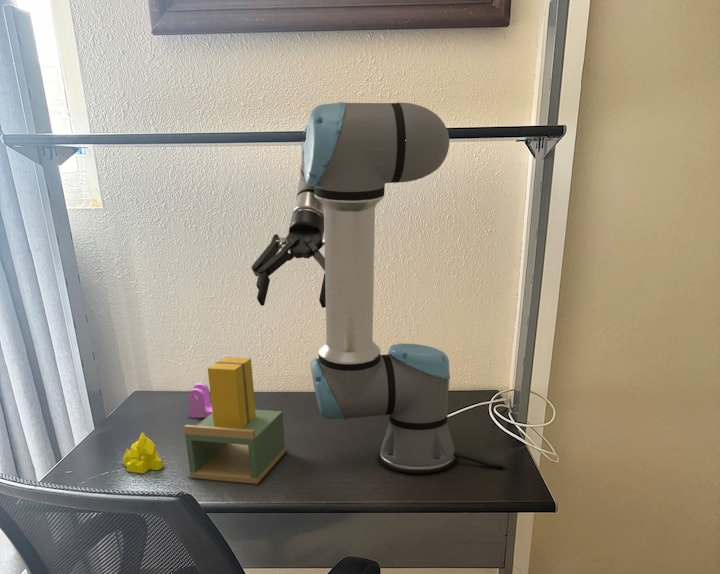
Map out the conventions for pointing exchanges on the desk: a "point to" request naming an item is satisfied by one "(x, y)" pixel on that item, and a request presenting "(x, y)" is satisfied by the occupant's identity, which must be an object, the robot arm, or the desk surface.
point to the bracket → (199, 401)
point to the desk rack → (235, 448)
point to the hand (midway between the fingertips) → (291, 303)
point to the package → (232, 392)
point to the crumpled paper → (142, 456)
